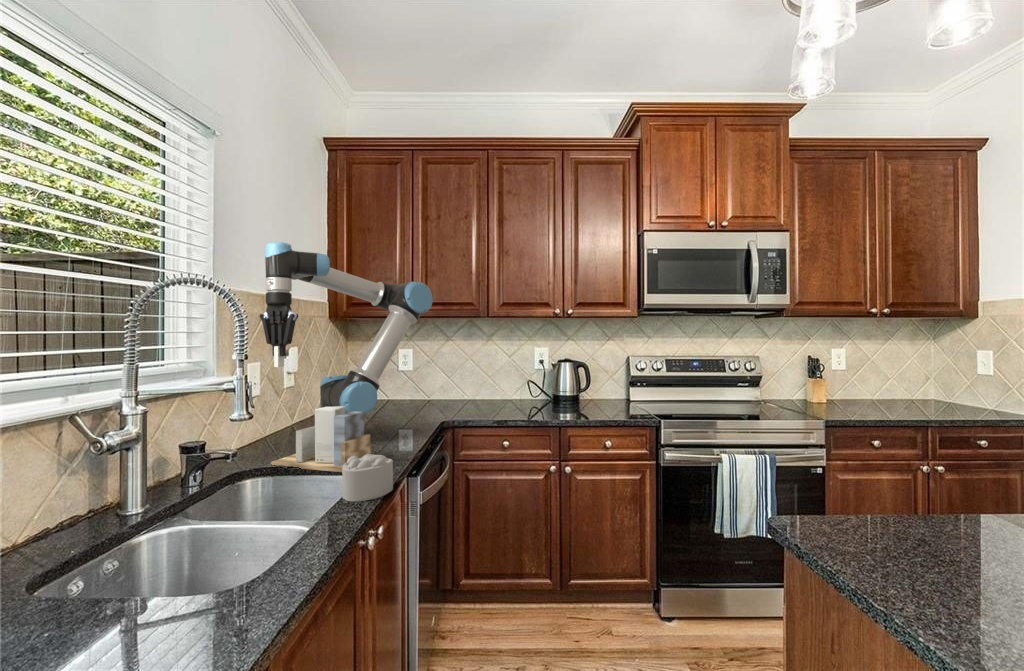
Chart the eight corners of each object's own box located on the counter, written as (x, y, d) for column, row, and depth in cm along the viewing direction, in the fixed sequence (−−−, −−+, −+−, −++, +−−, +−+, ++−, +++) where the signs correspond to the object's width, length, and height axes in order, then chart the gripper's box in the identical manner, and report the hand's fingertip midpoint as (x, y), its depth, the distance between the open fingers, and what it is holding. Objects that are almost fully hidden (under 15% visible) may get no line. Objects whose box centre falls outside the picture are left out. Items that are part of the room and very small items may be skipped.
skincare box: (335, 463, 151) (335, 409, 151) (313, 463, 152) (312, 409, 152) (346, 457, 160) (346, 405, 160) (325, 456, 160) (325, 405, 160)
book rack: (300, 456, 166) (300, 407, 166) (370, 461, 159) (370, 411, 159) (270, 466, 154) (270, 414, 154) (345, 472, 147) (345, 417, 147)
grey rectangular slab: (317, 454, 163) (317, 425, 163) (323, 454, 162) (323, 425, 162) (295, 461, 153) (295, 430, 153) (301, 462, 152) (301, 431, 152)
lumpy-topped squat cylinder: (398, 487, 133) (398, 453, 133) (370, 503, 120) (370, 465, 120) (362, 484, 136) (361, 450, 136) (330, 499, 123) (330, 462, 123)
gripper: (252, 291, 165) (253, 367, 165) (287, 290, 161) (288, 367, 161) (270, 293, 172) (270, 365, 172) (304, 292, 168) (304, 366, 168)
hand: (279, 366), depth 167 cm, fingers closed
